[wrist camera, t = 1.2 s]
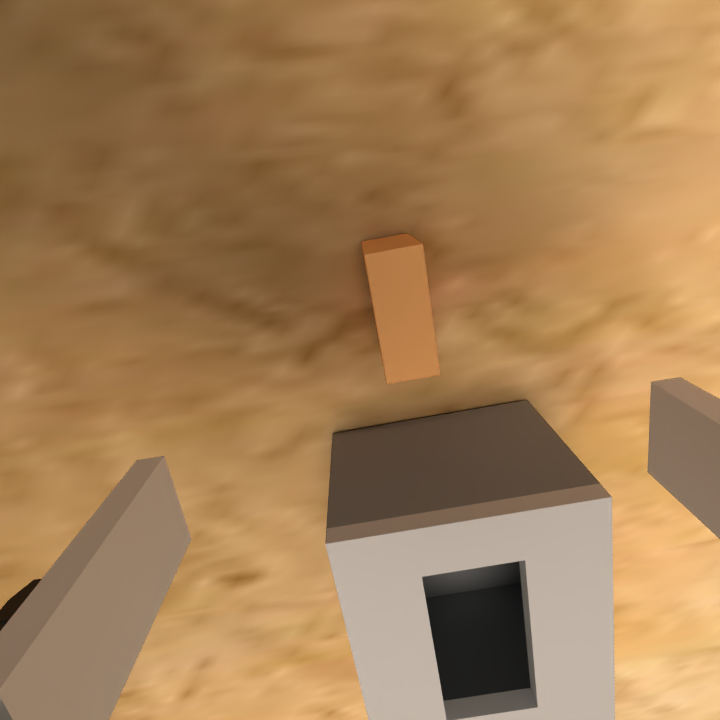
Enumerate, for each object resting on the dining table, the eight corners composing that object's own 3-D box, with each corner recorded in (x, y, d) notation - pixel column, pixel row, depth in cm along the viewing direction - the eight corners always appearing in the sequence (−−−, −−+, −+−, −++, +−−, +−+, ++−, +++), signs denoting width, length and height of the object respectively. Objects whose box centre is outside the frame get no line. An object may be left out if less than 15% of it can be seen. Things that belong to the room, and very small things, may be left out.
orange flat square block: (361, 241, 26) (364, 254, 21) (406, 233, 26) (422, 243, 21) (379, 345, 28) (387, 384, 23) (422, 338, 28) (440, 374, 23)
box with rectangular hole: (332, 433, 30) (325, 544, 21) (527, 400, 30) (611, 496, 20) (371, 609, 34) (380, 765, 25) (541, 581, 34) (615, 731, 25)
